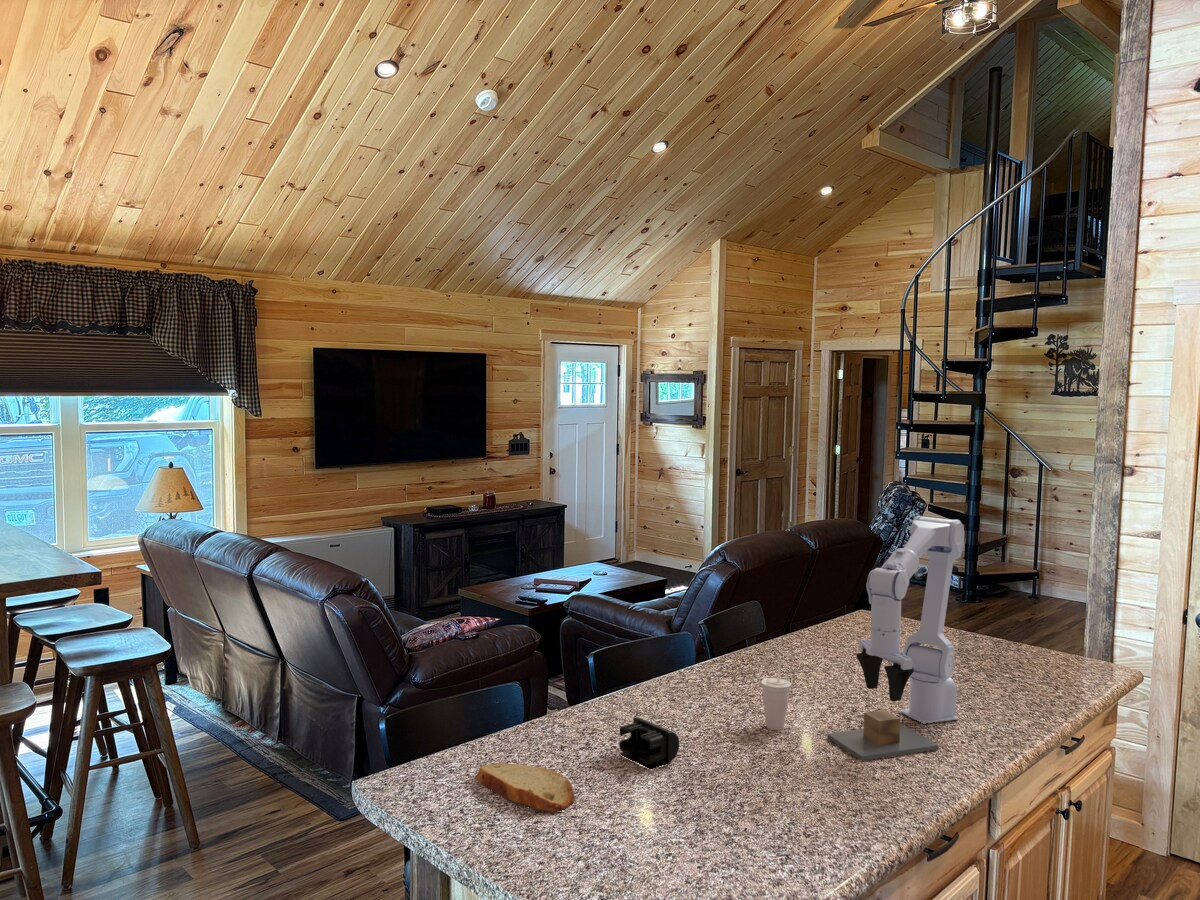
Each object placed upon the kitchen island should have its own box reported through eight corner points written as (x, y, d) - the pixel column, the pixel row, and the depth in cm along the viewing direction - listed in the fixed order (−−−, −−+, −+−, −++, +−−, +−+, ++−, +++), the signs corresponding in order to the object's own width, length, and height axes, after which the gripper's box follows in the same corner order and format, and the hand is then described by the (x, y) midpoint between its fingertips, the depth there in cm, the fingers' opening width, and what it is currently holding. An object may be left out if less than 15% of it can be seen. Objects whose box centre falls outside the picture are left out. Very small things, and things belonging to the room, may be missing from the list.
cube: (883, 733, 186) (884, 709, 186) (899, 742, 181) (900, 718, 181) (863, 736, 184) (864, 712, 184) (878, 745, 180) (879, 721, 179)
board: (899, 728, 192) (900, 723, 192) (938, 749, 180) (938, 745, 180) (827, 738, 186) (827, 733, 186) (862, 761, 174) (862, 756, 174)
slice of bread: (477, 772, 169) (477, 752, 169) (572, 771, 170) (573, 751, 170) (467, 817, 151) (468, 796, 151) (575, 816, 152) (575, 794, 152)
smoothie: (790, 733, 188) (791, 668, 187) (759, 731, 189) (760, 665, 188) (790, 722, 194) (791, 659, 193) (760, 720, 196) (761, 656, 195)
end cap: (679, 762, 173) (680, 728, 173) (652, 772, 169) (653, 737, 168) (644, 746, 181) (644, 713, 180) (617, 755, 176) (618, 722, 176)
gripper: (847, 620, 187) (845, 684, 188) (891, 639, 173) (889, 708, 174) (876, 618, 189) (874, 681, 190) (922, 636, 176) (919, 704, 176)
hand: (883, 694), depth 182 cm, fingers open, 7 cm apart
